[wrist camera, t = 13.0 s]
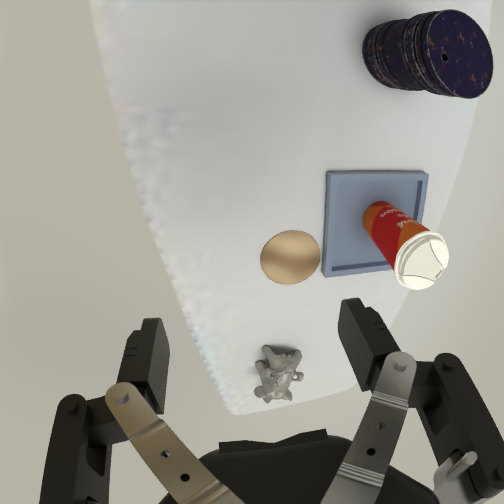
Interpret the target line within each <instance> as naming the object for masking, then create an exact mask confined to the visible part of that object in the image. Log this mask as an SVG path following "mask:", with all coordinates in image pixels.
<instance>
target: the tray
mask: <svg viewBox="0 0 504 504" xmlns="http://www.w3.org/2000/svg"><path fill="white" fill-rule="evenodd" d="M428 177H429V174H427V173H425V172H423V171H388V170H378V171H327V174H326V203H325V224H324V242H323V257H322V273H323V275H324V277H325V278H327V277H335V276H344V275H352V274H360V273H368V272H376V271H383V270H391V269H392V267H391V266H390V264H389V263H388V262H387V260H386V259H385V257H384V256H383V254H382V253H381V252H380V250H379V249H378V247H377V246H376V245H375V243H374V242H373V240H372V239H371V238H370V236H369V235H368V233H367V232H366V230H365V228H364V226H363V215H364V213H365V211H366V209H367V208H368V207H369V206H370V205H371V204H373V203H375V202H378V201H384V202H387V203H389V204H391V205H393V206H394V207H396V208H398V209H399V210H401V211H402V212H404V213H405V214H407V215H408V216H410V217H411V218H413V219H414V220H416V221H417V222H418V223H420V224H421V223H422V217H423V211H424V205H425V199H426V192H427V185H428Z"/></svg>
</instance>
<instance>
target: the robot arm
mask: <svg viewBox="0 0 504 504" xmlns="http://www.w3.org/2000/svg"><path fill="white" fill-rule="evenodd" d="M338 334H339V338H340V340H341V343H342V345H343V347H344V350H345V352H346V354H347V357H348V359H349V361H350V364H351V366H352V368H353V371H354V373H355V376H356V378H357V381H358V383H359V385H360V388H361V390H362V392H364V391H368V390H371V392H372V397H371V399H370V402H369V404H368V407H367V410H366V412H365V414H364V417H363V419H362V421H361V423H360V426H359V428H358V430H357V432H356V435H355V437H354V439H353V441H351V440H349V439H346V438H343V437H339V436H332V435H327V432H326V429H322V430H315V431H310V432H305V433H300V434H297V435H294V436H292V437H289V438H287V439H284V440H281V441H279V442H276V443H266V442H256V441H248V440H243V441H230V442H219V449H217V450H214V451H212V452H210V453H208V454H206V455H204V456H202V457H201V458H199V459H197V458H196V457H195V456H194V455H193V453H192V452H191V451H190V450H189V449H188V448H187V447H186V446H185V445H184V443H183V442H182V441H181V440H180V439H179V438H178V437H177V435H176V434H175V433H174V432H173V431H172V430H171V428H170V427H169V426H168V425H167V424H166V423H165V422H164V420H162V419H160V418H159V417H158V416H157V414H164V404H165V393H166V384H167V375H168V365H169V357H170V349H169V343H168V339H167V336H166V332H165V329H164V326H163V322H162V319H161V318H145V319H144V320H143V323H142V327H141V330H134V331H133V332H132V334H131V335H130V336H129V338H128V339H127V343H126V346H125V350H124V354H123V358H122V362H121V366H120V370H119V374H118V378H117V382H116V384H115V385H113V386H111V387H110V388H109V389H108V391H107V393H106V395H105V396H102V397H99V398H95V399H91V400H87V401H86V400H85V398H84V397H82V396H81V395H79V394H71V395H68V396H66V397H64V398H63V399H62V400H61V401H60V403H59V405H58V407H57V411H56V415H55V420H54V424H53V428H52V433H51V437H50V442H49V447H48V452H47V457H46V463H45V468H44V474H43V480H42V487H41V494H40V501H39V504H108V503H109V481H110V466H111V454H112V444H115V443H119V442H123V441H127V440H130V442H131V443H132V445H133V446H134V448H135V449H136V450H137V452H138V453H139V455H140V456H141V457H142V459H143V460H144V461H145V463H146V464H147V466H148V467H149V468H150V469H151V471H152V472H153V473H154V475H155V476H156V477H157V478H158V480H159V481H160V482H161V483H162V484H163V486H164V487H165V488H166V490H167V491H168V494H167V495H166V496H165V497H164V498H163V499H162V500H161V501H160V503H159V504H483V503H484V502H486V501H488V500H489V499H491V498H492V497H494V496H495V495H497V494H498V493H500V492H501V491H503V490H504V441H503V439H502V437H501V435H500V432H499V430H498V428H497V427H496V424H495V422H494V421H493V418H492V417H491V414H490V413H489V411H488V409H487V407H486V405H485V403H484V401H483V399H482V397H481V396H480V394H479V392H478V390H477V388H476V387H475V385H474V383H473V381H472V379H471V378H470V376H469V374H468V373H467V371H466V369H465V367H464V366H463V364H462V362H461V361H460V359H459V358H458V357H456V356H455V355H453V354H450V353H442V354H439V355H438V356H436V358H435V360H434V362H423V361H415V359H414V358H413V357H412V356H411V355H409V354H408V353H405V352H401V350H400V348H399V347H398V345H397V343H396V342H395V340H394V338H393V336H392V335H391V333H390V332H389V330H388V329H387V326H386V325H385V323H383V320H382V318H381V316H380V315H379V313H378V312H376V311H375V310H374V309H372V308H371V307H366V308H365V307H364V305H363V303H362V301H361V300H360V298H351V299H344V300H342V302H341V308H340V314H339V321H338ZM408 408H416V409H417V411H418V414H419V416H420V419H421V421H422V424H423V426H424V428H425V431H426V434H427V436H428V439H429V442H430V444H431V447H432V449H433V452H434V455H435V458H436V460H437V463H438V466H439V467H438V468H437V470H436V471H435V474H434V491H432V490H430V489H429V488H428V487H426V486H424V485H422V484H421V483H419V482H417V481H416V480H414V479H412V478H411V477H409V476H407V475H405V474H404V473H402V472H400V471H399V470H397V469H395V468H394V467H392V466H390V465H389V463H390V461H391V458H392V455H393V453H394V450H395V447H396V444H397V441H398V438H399V435H400V432H401V429H402V426H403V423H404V420H405V417H406V413H407V410H408Z"/></svg>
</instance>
